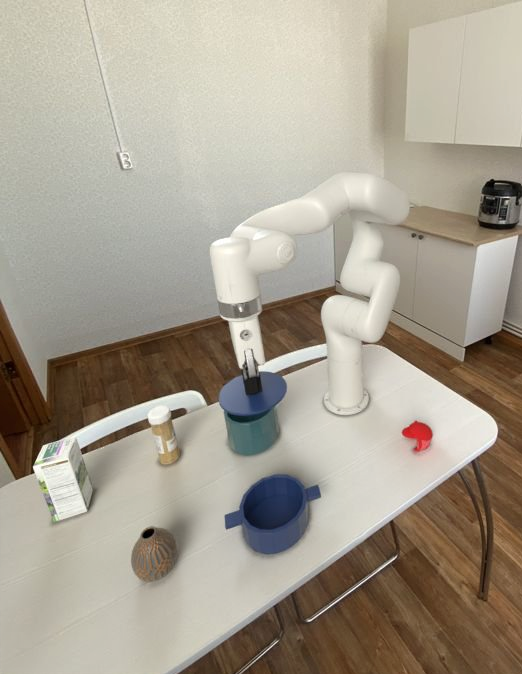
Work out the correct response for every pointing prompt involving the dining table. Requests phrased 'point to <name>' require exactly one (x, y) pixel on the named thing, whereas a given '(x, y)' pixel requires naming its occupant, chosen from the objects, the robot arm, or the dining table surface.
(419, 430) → the red rounded piece
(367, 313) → the robot arm
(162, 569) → the vase
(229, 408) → the lid
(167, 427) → the spice jar
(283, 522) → the pan
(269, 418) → the pot
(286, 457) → the dining table surface
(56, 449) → the syrup box
